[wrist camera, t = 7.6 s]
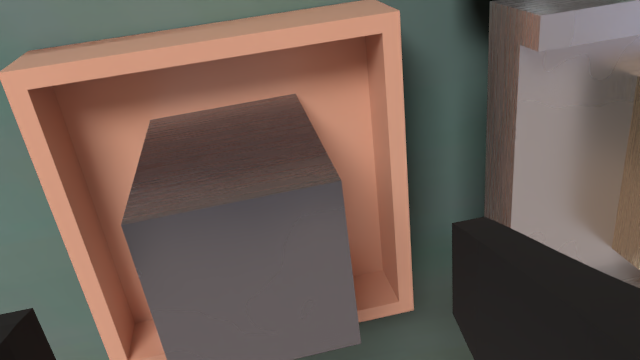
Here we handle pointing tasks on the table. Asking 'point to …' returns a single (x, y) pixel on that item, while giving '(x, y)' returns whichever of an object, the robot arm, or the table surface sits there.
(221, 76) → the tray
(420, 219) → the table surface
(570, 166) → the trolley
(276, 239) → the grey matte cube
